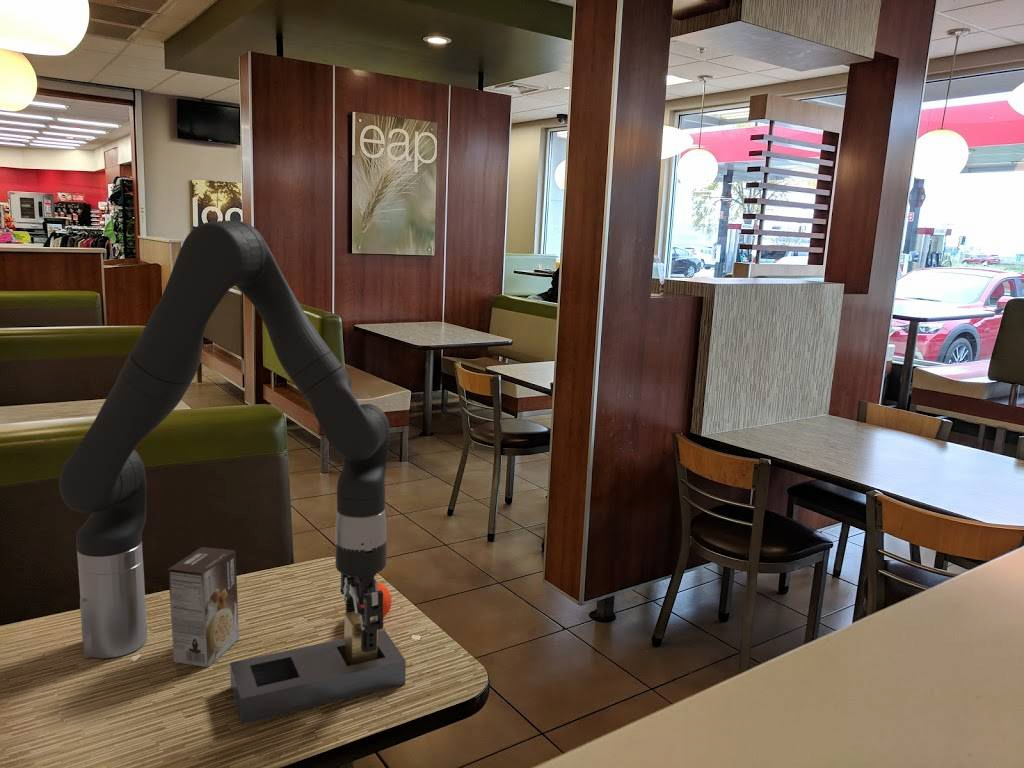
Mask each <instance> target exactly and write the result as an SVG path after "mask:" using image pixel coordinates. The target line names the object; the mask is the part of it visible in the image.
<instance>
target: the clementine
mask: <svg viewBox="0 0 1024 768" xmlns="http://www.w3.org/2000/svg"><path fill="white" fill-rule="evenodd" d="M377 586H378V590H377V591H379V590H382V592H383V619H384V618H385V617H387V615H388V614H389V612H390V610H391V607H392V601H393V600H392V595H391V593H390V590H389V589H388V588H387V586H386V585H384V584H382V583H380V582H378V581H377ZM361 607H362V608H364V605H361Z"/></svg>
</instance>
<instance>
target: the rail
mask: <svg viewBox="0 0 1024 768" xmlns="http://www.w3.org/2000/svg"><path fill="white" fill-rule="evenodd" d="M406 662H407V661H406V659H405V657H404V656H403V654H402V653H401V651H400V650H399V648H398V647H397V645H396V644H395V643H394V641H393V640H392V638H391V637H390V635H389V634H388V633H387V631H386V630H385V629H381V630H378V659H377V660H373V661H368V662H364V663H360V664H355V665H351V666H347V665H346V663H345V650H344V638H339V639H335V640H330V641H327V642H321V643H317V644H312V645H308V646H301V647H298V648H297V647H296V648H294V649H288V650H284V651H279V652H274V653H270V654H264V655H260V656H254V657H251V658H246V659H241V660H235V661H232V662H230V663H229V667H230V669H229V670H230V688H231V692H232V694H233V695H232V696H233V698H234V702H235V706H236V710H237V712H238V716H239V721H240V723H241V725H246V724H251V723H254V722H258V721H259V722H260V721H261V720H262V721H263V720H267V719H271V718H275V717H278V716H279V717H280V716H283V715H287V714H291V713H295V712H299V711H303V710H306V709H307V710H308V709H311V708H315V707H319V706H323V705H327V704H331V703H335V702H339V701H343V700H346V699H350V698H351V699H352V698H356V697H360V696H364V695H367V694H371V693H375V692H379V691H383V690H387V689H392V688H395V687H399V686H403V685H406Z"/></svg>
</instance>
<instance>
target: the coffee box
mask: <svg viewBox="0 0 1024 768" xmlns="http://www.w3.org/2000/svg"><path fill="white" fill-rule="evenodd" d="M236 552H237V551H236V550H231V549H224V548H215V547H214V548H213V547H206V546H201V547H199V548H198V549H196V550H195V551H193V552H191V553H190V554H188V555H187V556H186V557H184V558H183V559H181V560H180V561H178V562H177V563H175V564H174V565H172V566H171V567H169V568H168V569H167V572H168V586H169V587H168V590H169V602H170V605H169V606H170V620H171V621H170V622H171V637H172V652H173V653H172V654H173V657H172V658H173V662H174V663H177V664H183V665H190V666H191V665H192V666H197V667H203V668H209V667H210V666H212V664H214V663H215V662H216V661H217V660H218V659H219V658H220V657H221V656H222V655H223V654H225V652H227V651H228V650H229V649H231V647H232V646H233V645H234V644H235V643H236V642H237V641H239V640H240V629H239V605H238V584H237V583H238V579H237V578H238V577H237V562H236V561H237V558H236V557H237V556H236Z"/></svg>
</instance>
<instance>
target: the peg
mask: <svg viewBox="0 0 1024 768" xmlns="http://www.w3.org/2000/svg"><path fill="white" fill-rule="evenodd" d="M364 615H365V614H364ZM343 618H344V623H343V624H344V626H343V629H344V630H343V631H344V632H343V633H344V636H343V637H344V638H343V639H344V650H345V663H346V665H347V666H351V665H355V664H360V663H364V662H368V661H373V660H377V659H378V631H379V630H377V648H376V650H374V651H370V652H363V651H362V649H361V623H360V617H359V615H357V614H356V613H355V611H353V612H348V613H346V612H345V613H344V617H343ZM370 620H373V617H371V618H370Z"/></svg>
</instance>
